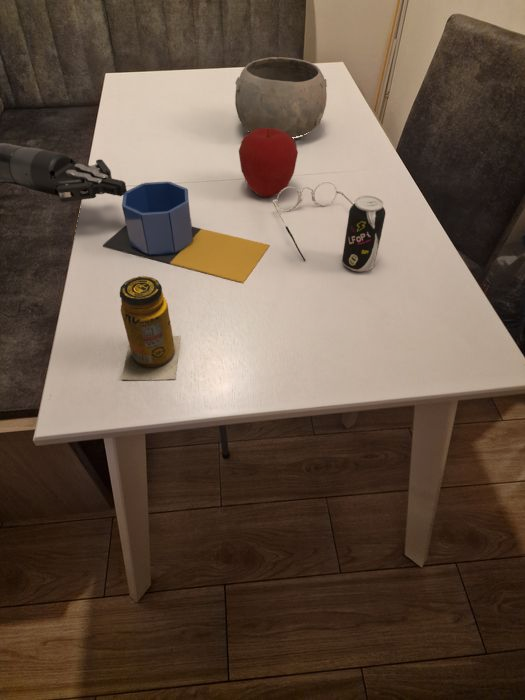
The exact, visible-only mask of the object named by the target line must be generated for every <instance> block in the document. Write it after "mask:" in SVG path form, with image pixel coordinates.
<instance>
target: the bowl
mask: <svg viewBox="0 0 525 700" xmlns="http://www.w3.org/2000/svg"><path fill="white" fill-rule="evenodd" d="M234 83H235V95H234V101H235V102H234V105H235V111H236V113H237V117H238V120H239V122H240V124H241V126H243V128H244V129H245V130H246V131H247V132H248V131H249V132H251V131H253V130H255V129H260V128H274V129H278V130H281V131H283V132H285V133H287V134H288V135H289V136H290V137H296V136H300V135H304V134H306V133H308V132H310V131H311V132H313V130H315V129H316V128H317V127H318V126H319V125H320V123H321V120H322V119H323V116H324V114H325V110H326V108H327V107H326V106H327V100H328V99H327V98H328V97H327V95H328V93H327V87H328V85H327V79H326V78H325V76H324V75H323V72H322V71H321V69H320V68H319V66H318V65H317V64H314V63H312V62H311V61H308V60H304V59H299V58H293V57H284V56H278V57H277V56H271V57H264V58H260V59H257V60H253V61H251V62H249V63H248V64H247V65H245V66H244V67H243V69H242V70H241V72H240V75H239V76H238V77H237V78H236V80H235V82H234ZM249 132H248V133H249ZM311 132H310V133H311ZM308 134H309V133H308ZM298 139H301V138H300V137H299V138H294V139H293V140H294V141H295V140H298Z"/></svg>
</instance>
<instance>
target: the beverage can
mask: <svg viewBox="0 0 525 700" xmlns="http://www.w3.org/2000/svg"><path fill="white" fill-rule="evenodd" d="M353 203H354V204H353V205H352V204H351V206H350V208H349V211H348V217H347V225H346V231H345V237H344V244H343V250H342V251H343V252H342V257H341V260H342V261H341V262H342V264H343V265H344V266H345V267H346V268H347V269H349V270H351V271H353V272H359V273H360V272H366V271H370V270H372V269H373V268H374V267H375V265H376V262H377V257H378V253H379V247H380V244H381V243H380V242H381V237H382V232H383V229H384V223H385V219H386V209H385V208H384V201H383V200H382V199H381V198H379V197H377V196H373V195H360V196H358V197H356V198H355V200H354V202H353Z"/></svg>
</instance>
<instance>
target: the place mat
mask: <svg viewBox="0 0 525 700" xmlns="http://www.w3.org/2000/svg"><path fill="white" fill-rule="evenodd" d="M192 234H193V241H192V242H191V243H189V244H188V245H187V246H186V247H185V248H184V249H182V250H180V251H178V252H176V253H173V254H168V255H149V254H145V253H143V252H141V251H139V250H138V249H137V248H135V247H133V246H131V245H130V240H129V236H128V231H127V227H126V224H125V225H124V226H123V227H121V229H120V230H118V231H117V232H116V233H115V234H113V236H111V237H110V238H109V239H108V240H107V241H106V242H104V243H103V244H102V247H103V248H106V249H110V250H114V251H118V252H122V253H126V254H130V255H134V256H138V257H141V258H145V259H149V260H153V261H156V262H160V263H163V264H169V265H172V266H176V267H180V268H183V269H187V270H191V271H195V272H198V273H199V272H200V273H202V274H207V275H209V276H210V275H211V276H213V277H217V278H221V279H226V280H229V281H233V282H237V283H241V284H244V283H245V282H246V281H247V279H248V277H249V276H250V274H251V273H252V272H253V270H254V269H255V267H256V266H257V265H258V264H259V262H260V261H261V260H262V258H263V256H264V255H265V253H266V252H267V251H268V249H269V248H270V247H271V245H270V244H268V243H264V242H258V241H255V240H251V239H247V238H242V237H238V236H233V235H230V234H226V233H222V232H217V231H212V230H208V229H204V228H200V227H195V226H192Z"/></svg>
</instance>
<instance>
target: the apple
mask: <svg viewBox="0 0 525 700" xmlns="http://www.w3.org/2000/svg"><path fill="white" fill-rule="evenodd" d="M238 154H239V155H238V157H239V163H240V171H241V173H242V176H243V177H244V180H245V182H246V184H247V186H248V187H249V189H251V190H252V191H253V192H254V193H256V194H257V196H260V197H261V198H272V197H274V196H276V195H278V194H279V193H280V191H281V190H282V189H284V188H286V187H289V186H288V185H289V183H290V182H291V180H292V178H293V176H294V174H295V169H296V164H297V159H298V154H299V152H298V148H297V145H296V142H295V140H293V138H292V137H290V136H289V135H288V134H287V133H285V132H283V131H281V130H278V129H274V128H260V129H255V130H253V131H251V132H250V133H249V132H247V134H246V135H244V136H243V138H242V140H241V143H240V146H239V148H238ZM286 189H287V188H286ZM284 190H285V189H284ZM280 194H281V193H280Z"/></svg>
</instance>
